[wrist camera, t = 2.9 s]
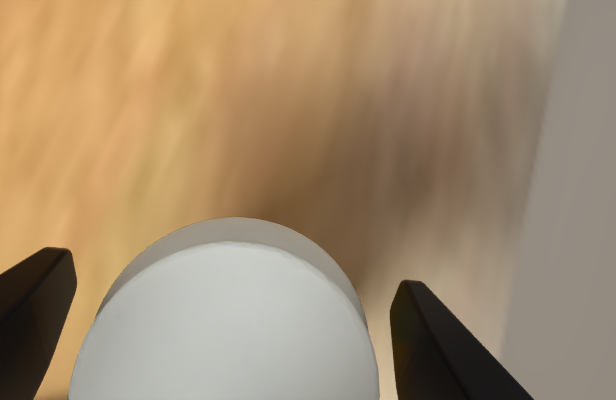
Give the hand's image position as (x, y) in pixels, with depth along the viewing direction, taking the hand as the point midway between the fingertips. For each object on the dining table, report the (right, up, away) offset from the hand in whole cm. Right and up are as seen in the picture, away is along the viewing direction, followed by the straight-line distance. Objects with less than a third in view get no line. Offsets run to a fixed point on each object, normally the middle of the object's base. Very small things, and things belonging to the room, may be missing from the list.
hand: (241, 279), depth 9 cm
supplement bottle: (-1, -3, +6) cm, 7 cm away
